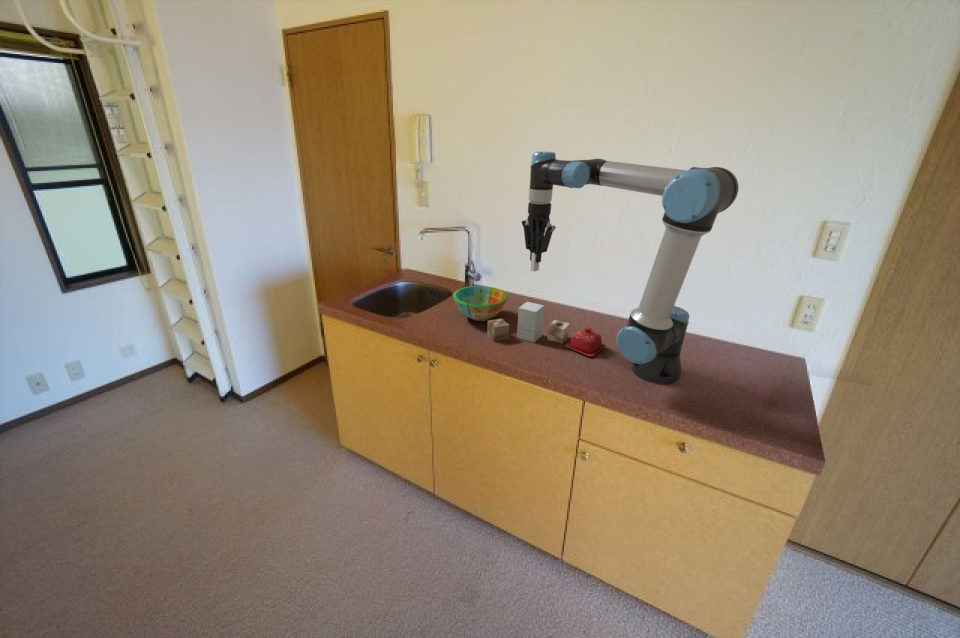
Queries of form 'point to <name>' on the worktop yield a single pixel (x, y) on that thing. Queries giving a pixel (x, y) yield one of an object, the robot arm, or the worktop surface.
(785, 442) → the worktop surface
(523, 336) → the supplement box
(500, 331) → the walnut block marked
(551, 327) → the beech block marked
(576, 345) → the butter dish
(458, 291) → the bowl
